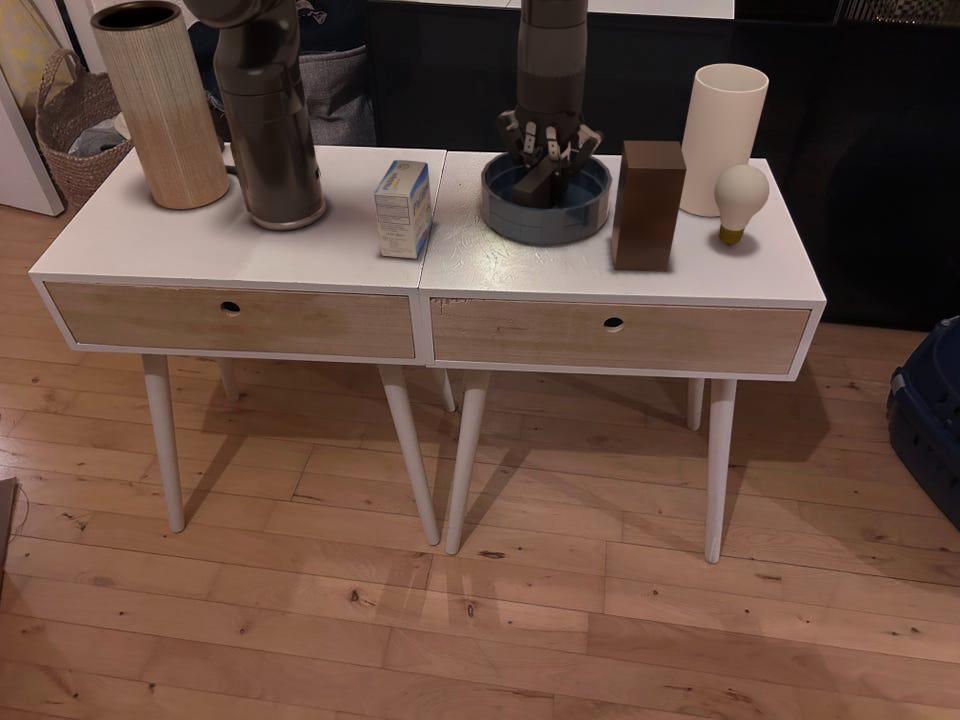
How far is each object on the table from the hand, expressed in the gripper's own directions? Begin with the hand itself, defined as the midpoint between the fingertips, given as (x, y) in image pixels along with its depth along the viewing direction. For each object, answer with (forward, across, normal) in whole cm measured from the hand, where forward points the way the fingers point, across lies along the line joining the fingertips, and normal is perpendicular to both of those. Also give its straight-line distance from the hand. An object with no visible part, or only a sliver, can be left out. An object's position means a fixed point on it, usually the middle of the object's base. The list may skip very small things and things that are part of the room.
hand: (544, 197), depth 93 cm
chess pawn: (+2, -3, +4) cm, 5 cm away
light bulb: (+2, -23, -4) cm, 23 cm away
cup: (+2, -17, -12) cm, 21 cm away
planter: (+2, +44, +18) cm, 47 cm away
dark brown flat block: (+1, 0, +1) cm, 1 cm away
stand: (+2, -14, +4) cm, 15 cm away
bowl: (+2, 0, 0) cm, 2 cm away
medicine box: (+2, +12, +14) cm, 18 cm away
